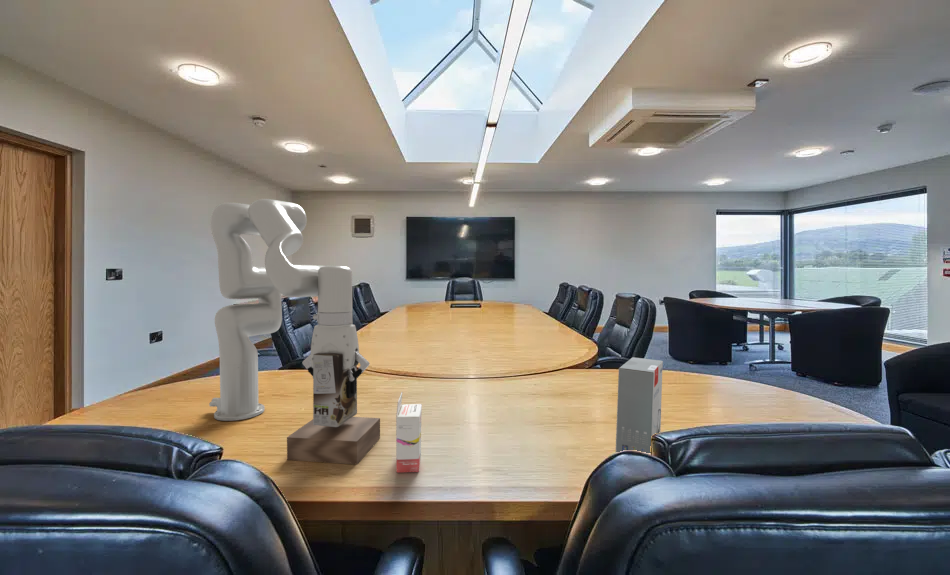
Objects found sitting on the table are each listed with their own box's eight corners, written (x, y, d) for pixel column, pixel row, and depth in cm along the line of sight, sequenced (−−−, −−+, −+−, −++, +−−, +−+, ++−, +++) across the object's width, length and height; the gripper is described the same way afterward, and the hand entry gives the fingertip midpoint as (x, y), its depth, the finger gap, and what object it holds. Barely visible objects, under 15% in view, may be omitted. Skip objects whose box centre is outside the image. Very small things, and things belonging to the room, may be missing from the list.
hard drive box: (651, 462, 89) (653, 372, 88) (615, 454, 93) (616, 367, 92) (661, 438, 102) (663, 359, 101) (629, 432, 106) (630, 356, 106)
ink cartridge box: (420, 472, 84) (420, 402, 83) (395, 473, 84) (395, 402, 83) (422, 454, 93) (422, 390, 92) (399, 454, 92) (399, 390, 92)
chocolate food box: (338, 427, 90) (338, 355, 89) (312, 425, 91) (311, 353, 91) (358, 413, 99) (358, 347, 98) (334, 411, 100) (333, 346, 100)
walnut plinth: (287, 459, 89) (286, 437, 89) (319, 434, 103) (319, 415, 103) (357, 464, 87) (356, 441, 87) (380, 438, 101) (380, 418, 101)
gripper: (291, 320, 92) (291, 399, 92) (365, 322, 89) (365, 402, 90) (308, 317, 99) (309, 389, 100) (377, 318, 97) (377, 392, 98)
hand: (336, 395), depth 95 cm, fingers closed on chocolate food box, 6 cm apart
